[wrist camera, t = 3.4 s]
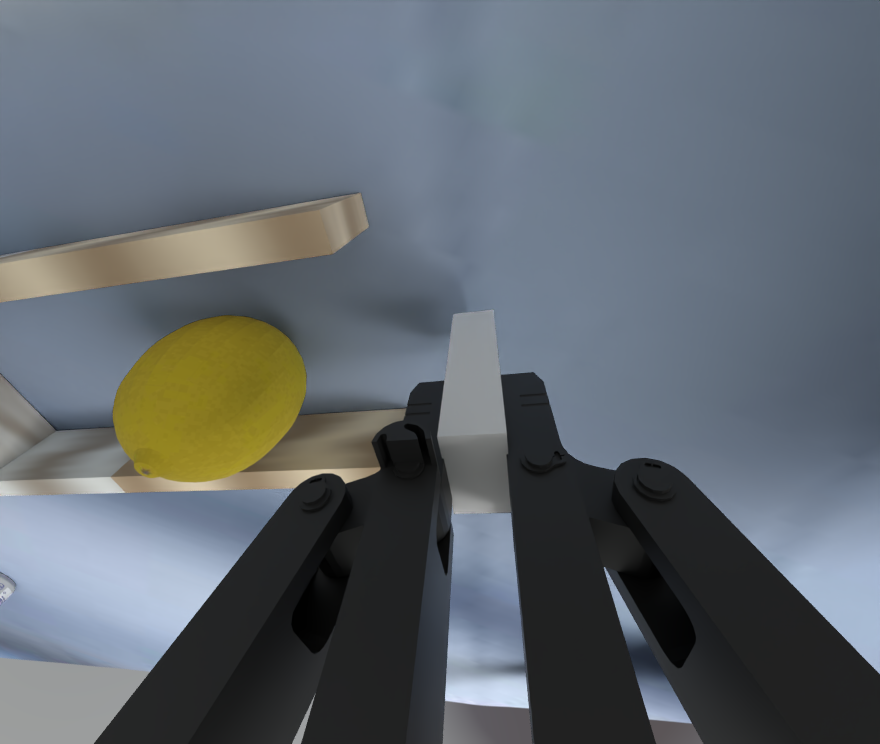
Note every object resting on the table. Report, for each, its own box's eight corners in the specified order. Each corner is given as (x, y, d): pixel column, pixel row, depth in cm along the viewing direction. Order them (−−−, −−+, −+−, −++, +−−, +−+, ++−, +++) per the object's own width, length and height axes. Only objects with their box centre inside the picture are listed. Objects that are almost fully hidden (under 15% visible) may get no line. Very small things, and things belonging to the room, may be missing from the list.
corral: (360, 192, 13) (319, 210, 10) (418, 425, 19) (405, 485, 16) (-118, 275, 17) (-264, 308, 14) (55, 445, 23) (-17, 496, 20)
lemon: (285, 404, 19) (180, 545, 12) (196, 329, 17) (14, 449, 10) (355, 356, 17) (274, 494, 10) (264, 262, 15) (88, 360, 8)
